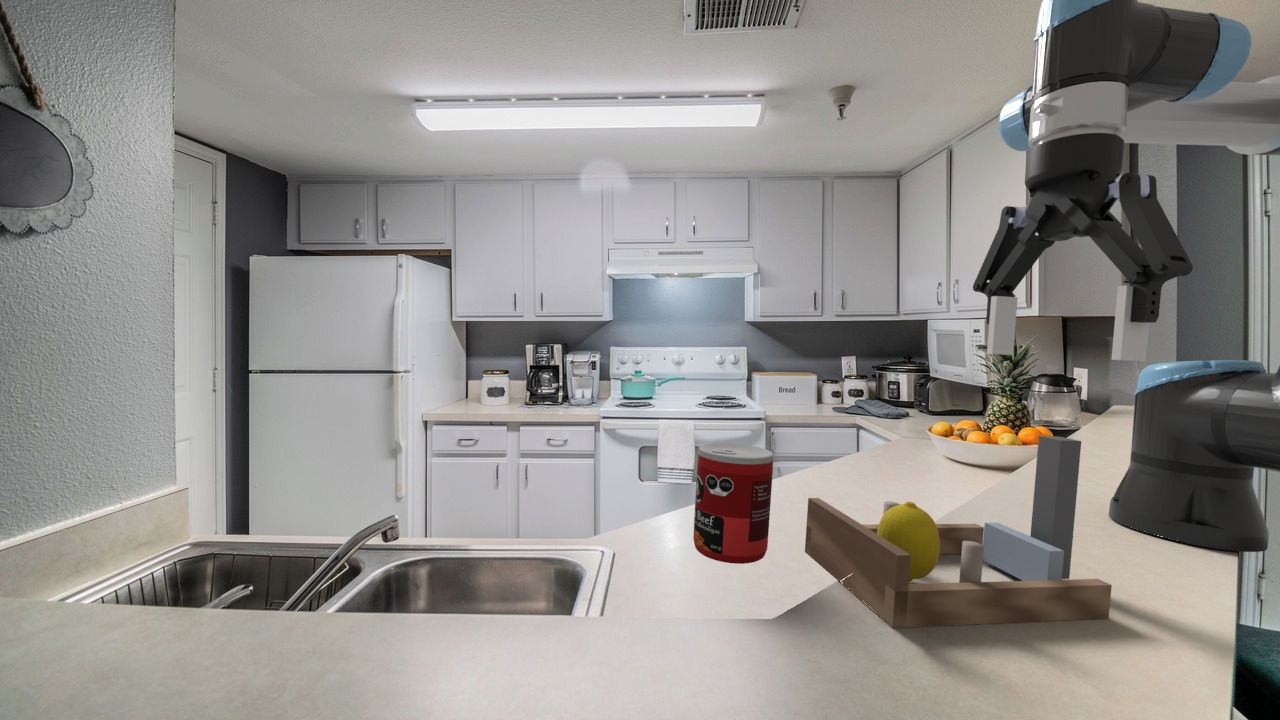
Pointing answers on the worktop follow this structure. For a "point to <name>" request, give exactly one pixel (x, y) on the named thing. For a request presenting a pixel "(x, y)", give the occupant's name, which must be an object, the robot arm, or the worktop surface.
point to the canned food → (733, 502)
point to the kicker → (1042, 518)
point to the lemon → (912, 536)
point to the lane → (938, 604)
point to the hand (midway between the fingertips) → (1056, 357)
